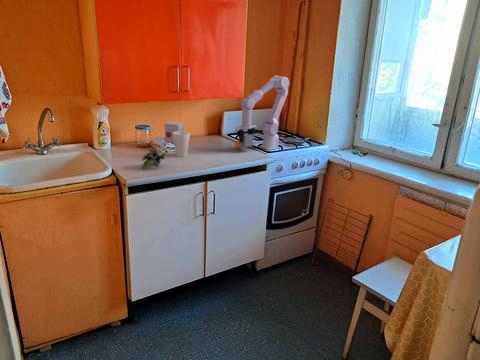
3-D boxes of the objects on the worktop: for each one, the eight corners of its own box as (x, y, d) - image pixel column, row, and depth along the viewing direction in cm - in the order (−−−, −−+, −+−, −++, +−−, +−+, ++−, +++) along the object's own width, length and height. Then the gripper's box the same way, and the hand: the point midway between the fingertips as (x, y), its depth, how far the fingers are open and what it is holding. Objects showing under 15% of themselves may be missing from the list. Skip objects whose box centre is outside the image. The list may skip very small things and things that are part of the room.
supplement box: (164, 147, 228) (163, 123, 223) (170, 144, 237) (169, 120, 231) (178, 149, 227) (178, 124, 221) (184, 145, 235) (183, 121, 230)
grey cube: (246, 143, 232) (247, 133, 230) (253, 145, 228) (253, 134, 226) (239, 144, 229) (239, 134, 227) (245, 146, 224) (245, 136, 222)
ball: (244, 140, 232) (244, 148, 234) (239, 139, 236) (239, 147, 237) (238, 141, 229) (238, 149, 231) (233, 140, 233) (233, 148, 234)
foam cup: (169, 155, 213) (169, 133, 209) (179, 152, 221) (179, 130, 217) (183, 158, 209) (183, 135, 205) (193, 154, 217) (193, 132, 213)
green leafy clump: (154, 174, 199) (164, 154, 201) (161, 177, 190) (172, 156, 192) (135, 165, 193) (146, 144, 195) (142, 167, 184) (153, 145, 186)
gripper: (252, 116, 230) (250, 138, 235) (232, 118, 222) (232, 141, 227) (259, 118, 225) (258, 141, 230) (240, 121, 217) (239, 144, 221)
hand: (245, 141), depth 228 cm, fingers closed on grey cube, 6 cm apart
